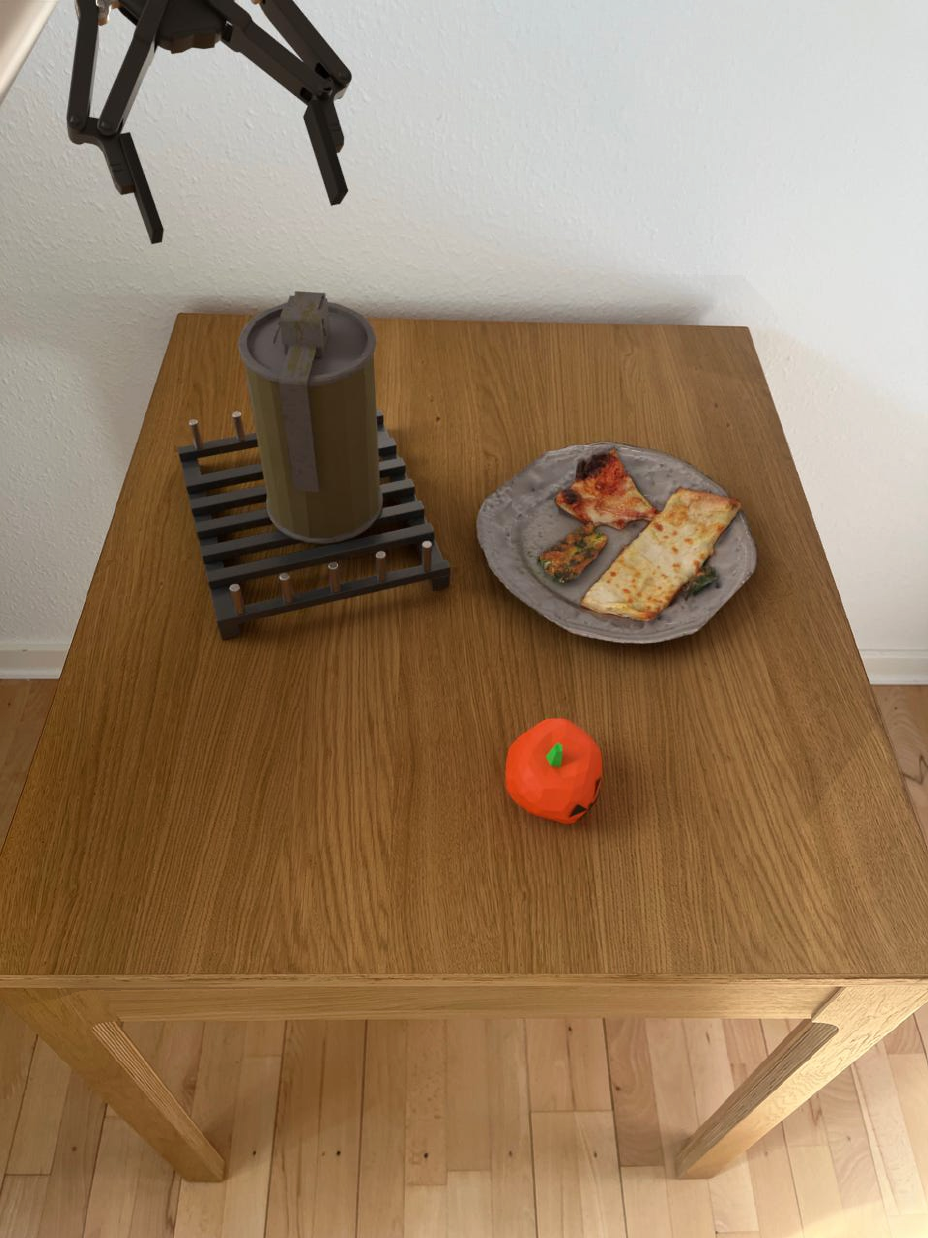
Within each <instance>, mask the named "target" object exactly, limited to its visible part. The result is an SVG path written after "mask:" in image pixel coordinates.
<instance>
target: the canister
mask: <svg viewBox="0 0 928 1238" xmlns="http://www.w3.org/2000/svg"><path fill="white" fill-rule="evenodd" d="M326 296H327V295H326V292H314V291H313V292H312V291H300V290H299V291H297V290H295V291H294V294H293V295H289V297H288V300H287V302H283V303H282V304H278V305H274V306H272V307H270V308H267V309H265V310H263V311H261V312H260V313H258V314H256V315H255V316H254V317H253V318H251V319H250V320H249V321H248V322H247V323H246V325H244V327H243V328H242V329H241V331H240V334H239V338H238V341H237V347H238V352H239V355H240V358H241V360H242V362H243V365H244V372H245V376H246V377H245V378H246V383H247V389H248V394H249V395H248V396H249V401H250V406H251V412H252V418H253V423H254V429H255V430H254V431H255V433H256V435H257V441H258V447H257V448H258V454H259V457H260V458H259V459H260V463H261V464H262V470H263V476H264V479H263V481H264V485H265V487H266V493H267V500H266V504H265V505H266V508H267V512H268V515H269V517H270V520H271V521H272V522H273V523H274V524H273V525H274V526H275V527H276V529H277V530H280V531H281V532H283V533H284V534H285V535H287V536H289V537H291V538H293V539H296V540H300V541H304V542H303V543H308V544H318V545H323V544H336V543H341V542H345V541H348V540H350V539H353V538H355V537H358V536H360V535H361V534H362V533H364V532H366V531H367V530H368V529H370V528H369V527H370V526H371V525H372V524H373V523H374V521H375V520H376V519H377V517H378V516H379V515H380V513H381V509H382V508H383V503H384V501H383V496H382V491H381V488H380V485H381V481H380V479H381V478H379V456H378V434H377V412H376V410H377V395H376V393H377V392H376V371H375V370H376V368H375V352H376V346H377V335H376V332H375V329H374V327H373V326H372V324H371V322H370V321H369V320H368V319H367V318H366V317H364V316H363V314H361V313H360V312H357V311H356V310H354V309H352V308H350V307H348V306H345V305H343V304H340V303H336V302H331V301H330V302H329V301H328V298H327V297H326Z"/></svg>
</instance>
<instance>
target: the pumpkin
mask: <svg viewBox="0 0 928 1238" xmlns="http://www.w3.org/2000/svg"><path fill="white" fill-rule="evenodd" d="M602 778H603V757H602V750H601V749H600V747H599V746H598V744H597V743H596V742H595V740H594V739H593V738H592V737H591V736H590V735H589V734H588V733H587V732H586V731H585V730H583V729H582V728H580V727H579V726H578V725H576V724H575V723H574V722H572V721H571V720H570V719H566V718H563V717H561V718H560V717H558V718H557V717H555V718H554V717H553V718H552V717H550V718H546V719H544V720H543V719H542V720H541V721H539V722H538V723H537V724H536V725H534V726H533V727H531V728H530V729H528V730H527V731H525V732H523V734H520V735H519V736H518V737H517V738H515V740H514V741H513V743H512V744H511V745H510V746H509V748H508V752H507V755H506V759H505V787H506V788H505V789H506V791H507V794H508V795H509V796H510V797H511V799H512V800H513V801H514V802H515V803H516V804H517V805H518V806H519V807H521V808H522V809H524V810H525V811H526V812H528V813H529V814H532V815H533V816H535V817H538V818H542V819H546V820H549V821H555V822H558V823H560V824H564V825H569V824H575V823H576V822H578V821H580V820H581V819H582V818H583V817H584V816H585V815H586V813H588V812H589V811H590V809H591V808H592V807H593V805H594V804H595V803H596V802H597V800H598V799H599V796H600V794H601V792H602V790H600V788H601V783H602Z"/></svg>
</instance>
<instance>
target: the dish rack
mask: <svg viewBox="0 0 928 1238" xmlns="http://www.w3.org/2000/svg"><path fill="white" fill-rule="evenodd" d="M376 412H377V434H378V456H379V478H380V479H385V480H386V482H387V483H382V484H380V488H381V491H382V496H383V502H384V501H385V502H386V501H389V500H394V501H395V503H396V504H395V505H391V506H387V507H382V509H381V513H380V515H379V516H378V517H377V519H376V520H375V521H374V523H373V524H372V525H371V526H370V527H369V528H368V529H373V528H377V527H382V526H386V525H390V524H394V523H395V524H396V523H399V522H403V523H404V525H405V528H401V529H395V530H392V531H387V532H383V533H378V534H373V535H369V536H365V537H360V538H355V539H351V540H350V539H349V540H345V541H341V542H335V543H331V544H329V545H324V546H318V547H314V548H310V549H305V550H300V551H296V552H292V553H291V552H290V553H287V554H282V555H277V556H273V557H268V558H263V559H260V560H254V561H250V562H245V563H241V564H237V565H232V566H231V565H230V566H226V567H225V564H224V561H225V560H229V559H235V558H238V557H243V556H247V555H251V554H252V555H253V554H257V553H261V552H267V551H271V550H276V549H279V548H284V547H289V546H293V545H298V544H303V543H305V542H304V541H300V540H296V539H293V538H291V537H289V536H287V535H285V534H284V533H283V532H281V531H280V530H279V529H277V530H274V531H269V532H265V533H264V532H263V533H259V534H255V535H250V536H245V537H240V538H236V539H231V540H227V541H222V542H219V540H218V536H223V535H227V534H231V533H237V532H242V531H246V530H251V529H256V528H261V527H267V526H270V525H274V523H273V522H272V521H271V520H270V517H269V515H268V512H267V507H266V508H262V509H256V510H252V511H247V512H242V513H236V514H233V515H228V516H222V517H217V518H213V516H212V513H213V514H214V513H217V512H221V511H226V510H233V509H237V508H241V507H246V506H247V507H248V506H251V505H256V504H260V503H265V502H266V500H267V493H266V487H265V484H262V485H258V486H253V487H249V488H244V489H238V490H233V491H229V492H224V493H219V494H218V493H217V494H213V495H209V496H208V494H207V491H211V490H217V489H221V488H226V487H231V486H236V485H241V484H246V483H247V484H248V483H252V482H256V481H262V480H264V476H263V470H262V464H261V462H259V463H255V464H250V465H245V466H240V467H233V468H229V469H224V470H220V471H214V472H208V473H204V474H202V471H201V466H200V463H199V459H202V458H207V457H212V456H218V455H222V454H229V453H235V452H239V451H243V450H244V451H245V450H248V449H249V450H250V449H255V448H259V447H258V441H257V435H256V432H252V433H247V434H245V428H244V423H243V418H242V413H241V412H240V411H234V412H232V414H231V416H232V421H233V426H234V430H235V431H234V432H235V436H231V437H227V438H226V437H225V438H220V439H215V440H209V441H205V442H203V438H202V435H201V430H200V426H199V421H198V420H197V419H194V418H192V419H190V420H189V421H188V426H189V430H190V433H191V434H190V435H191V438H192V441H193V444H187V445H183V446H178V447H177V448H176V450H177V453H178V457H179V462H180V465H181V470H182V474H183V481H184V485H185V489H186V493H187V496H188V501H189V502H188V503H189V506H190V510H191V514H192V518H193V522H194V523H193V524H194V529H195V533H196V536H197V539H198V544H199V549H200V554H201V558H202V562H203V566H204V571H205V576H206V580H207V585H208V588H209V593H210V596H211V601H212V605H213V610H214V616H215V620H216V623H217V627H218V632H219V635H220V639H221V641H225V640H231V639H234V638H238V637H241V636H242V634H241V629H240V625H239V624H244V623H248V622H253V621H257V620H262V619H267V618H270V617H274V616H278V615H282V614H283V615H284V614H286V613H291V612H292V613H293V612H296V611H299V610H304V609H308V608H309V609H310V608H312V607H313V608H314V607H317V606H321V605H326V604H329V603H334V602H338V601H343V600H347V599H351V598H355V597H361V596H364V595H365V596H366V595H368V594H369V595H370V594H372V593H377V592H382V591H385V590H389V589H395V588H400V587H404V586H407V585H411V584H417V583H421V582H424V581H428V582H429V585H430V588H431V590H432V591H437V590H441V589H445V588H449V587H450V586H451V565H450V563H449V561H448V559H444V558H443V555H442V553H441V551H440V548H439V545H438V544H437V541H436V539H435V537H436V535H435V534H436V532H435V529H434V527H433V524H432V523H431V522H429V523H428V521H427V518H426V514H425V513H426V510H425V506H424V504H423V501H422V500H420V499H418V498H417V496H416V486H415V484H414V481H413V479H412V478H409V477H408V475H407V472H406V471H407V467H406V463H405V461H404V459H403V457H400V456H399V454H398V449H397V448H398V447H397V446H398V445H397V442H396V440H395V438H394V437H390V434H389V432H388V430H387V427H386V425H385V420H384V419H385V418H384V417H385V416H384V413H383V411H382V409H376ZM411 545H413V547H414V549H415V551H416V553H417V556H418V559H419V561H420V565H416V566H412V567H408V568H407V567H406V568H403V569H399V570H393V571H389V572H387V559H386V557H387V555H386V552H385V551H388V550H392V549H396V548H400V547H405V546H411ZM373 553H374V554H375V567H376V568H375V569H376V575H373V576H368V577H363V578H361V579H359V578H358V579H355V580H350V581H346V582H342V583H340V582H341V581H340V570H339V564H338V563H337V562H338V561H342V560H347V559H351V558H355V557H361V556H364V555H365V556H366V555H371V554H373ZM324 564H328V565H327V566H328V577H329V585H328V586H325V587H320V588H317V589H315V588H314V589H311V590H306V591H302V592H298V593H293V587H292V583H291V577H290V574H289V572H293V571H298V570H302V569H307V568H311V567H316V566H321V565H324ZM275 575H279V582H280V589H281V593H282V596H280V597H277V598H271V599H268V600H263V601H259V602H255V603H250V604H246V605H245V603H244V599H243V594H242V590H241V586H240V585H239V583H244V582H248V581H253V580H258V579H261V578H267V577H271V576H275Z"/></svg>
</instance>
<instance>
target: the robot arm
mask: <svg viewBox="0 0 928 1238" xmlns="http://www.w3.org/2000/svg"><path fill="white" fill-rule="evenodd" d="M60 1H61V0H0V107H1V106H2V104H3V103H4V101H5V99H6V98H7V95H8V94H9V92H10V90H11V88H12V86H13V85H14V83H15V82H16V80H17V78H18V76H19V74H20V73H21V70H22V69H23V67H24V65H25V64H26V61H27V60H28V58H29V56H30V54H31V52H32V51H33V49H34V48H35V45H36V43H37V42H38V40H39V38H40V36H41V35H42V33H43V32H44V30H45V28H46V25H47V24H48V23H49V20H50V18H51V17H52V14H54V11H55V10H56V8H57V6H58V5H59V2H60ZM73 1H74V10H75V14H76V17H77V23H78V24H77V31H76V37H75V47H74V54H73V61H72V69H71V77H70V78H71V79H70V86H69V93H68V101H67V107H66V108H67V109H66V119H65V121H66V129H67V130H66V131H67V137H68V139H69V140H70V142H71V143H72V144H74V145H78V146H80V145H84V144H89V145H92V146H96V147H97V148H99V150H100V151H101V152H102V154H103V156H104V157H103V158H104V159H105V160H104V161H105V162H106V164H107V168H108V171H109V173H110V177H111V180H112V183H113V185H114V188H115V190H116V191H117V192H118V193H119V195H120V196H124V195H128V194H129V195H131V194H133V195H134V198H135V201H136V204H137V206H138V210H139V212H140V213H139V214H140V216H141V218H142V221H143V224H144V227H145V230H146V232H147V236H148V238H149V241H150V244H151V245H155V244H160V243H163V237H164V231H165V230H164V229H165V228H164V225H163V223H162V221H161V218H160V214H159V212H158V208H157V206H156V203H155V200H154V197H153V194H152V191H151V188H150V185H149V182H148V180H147V176H146V174H145V170H144V168H143V165H142V163H141V159H140V156H139V154H138V151H137V148H136V145H135V142H134V140H133V136H132V133H131V132H130V131H128V132H123V129H124V127H125V125H126V122H127V120H128V118H129V115H130V113H131V110H132V108H133V106H134V103H135V101H136V99H137V96H138V94H139V91H140V89H141V87H142V84H143V82H144V80H145V77H146V74H147V73H148V70H149V68H150V66H151V65H152V63H153V61H154V59H155V56H156V53H157V52H158V49H159V48H161V49H163V50H165V51H169V52H170V54H171V55H176V54H181V53H184V52H187V51H189V50H191V49H199V50H209V49H215V47H216V44H218V43H220V42H221V43H222V44H224V45H225V46H226V47H227V48H229V49H230V50H231V51H232V52H234V53H239V54H241V55H243V56H244V57H245V58H246V59H248V60H249V61H250V62H252V63H253V65H255V66H257V67H258V68H259V69H260V70H261V71H263V72H264V73H265V74H267V75H268V76H269V77H270V78H272V79H273V80H274V81H275V82H277V83H278V85H281V86H282V87H283V88H284V89H285V90H286V91H288V92H289V93H291V94H292V95H293V96H294V97H295V98H296V99H298V100H299V101H301V103H303V104H304V105H305V106H307V107H306V109H305V111H304V114H303V116H302V118H303V121H304V124H305V125H304V126H305V128H306V131H307V134H308V137H309V141H310V145H311V147H312V150H313V154H314V157H315V160H316V163H317V166H318V169H319V172H320V175H321V179H322V182H323V185H324V189H325V191H326V195H327V198H328V201H329V204H330V207H333V206H338V205H341V204H342V202H343V201H344V199H345V197H346V196H347V194H348V193H349V189H348V185H347V182H346V179H345V175H344V172H343V169H342V166H341V162H340V158H339V156H338V154H340V153H341V152H342V150H343V148H344V146H345V135H344V132H343V129H342V125H341V123H340V119H339V115H338V112H337V110H336V106H335V105H336V104H335V101H336V100H340V99H342V98H343V97H344V96H345V95H346V92H347V90H348V88H349V86H350V85H351V81H352V80H353V75H352V72H351V69H350V68H348V66H346V64H345V63H344V61H343V60H342V59H341V58H340V57H339V55H338V54H337V52H335V50H334V49H333V48H332V46H330V44H329V42H327V41H326V39H325V38H324V36H322V34H321V33H320V32H319V30H318V29H317V28H316V27H315V25H314V24H313V23H312V22H311V21H310V20H309V18H308V17H307V15H306V14H304V12H303V11H302V10H301V9H300V7H299V6H298V5H297V3H296V2H295V1H294V0H250V2H251V4H253V5H254V6H257V5H259V7H260V9H261V11H262V12H263V14H264V16H265V17H266V18H267V20H268V21H269V22H270V24H271V25H272V26H273V27H274V28H275V30H276V31H277V32H278V33H279V35H280V36H281V37H282V38H283V40H284V41H285V42H286V43H287V44H288V46H289V47H290V48H291V49H292V51H293V52H294V53H295V54H296V55H295V54H294V53H293V52H292V51H290V50H289V49H288V48H286V47H285V45H283V44H282V43H280V42H279V41H278V40H277V39H275V37H273V35H271V34H270V33H268V32H267V31H266V30H264V29H263V28H262V27H261V26H260V25H259V24H258V23H256V22H255V21H254V20H253V17H252V16H251V14H250V13H249V12H248V11H247V10H246V9H245V8H244V7H242V5H241V6H240V5H239V4H238V3H237V2H236V1H235V0H73ZM114 9H115V10H116V9H117V10H118V12H120V14H121V15H122V16H124V17H125V18H126V19H127V20H128V21H129V22H130V23H132V24H133V25H134V26H135V27H134V31H133V36H132V39H131V42H130V44H129V46H128V48H127V51H126V53H125V55H124V58H123V60H122V63H121V66H120V68H119V70H118V72H117V75H116V77H115V80H114V82H113V85H112V86H111V89H110V91H109V93H108V95H107V99H106V101H105V103H104V105H103V108H102V110H101V113H100V114H99V117H93V116H91V109H92V101H93V93H94V86H95V77H96V70H97V62H98V55H99V54H98V53H99V48H100V47H99V46H100V27H103V26H105V25H107V24H108V23H109V21H110V14H111V12H112V10H114Z"/></svg>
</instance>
